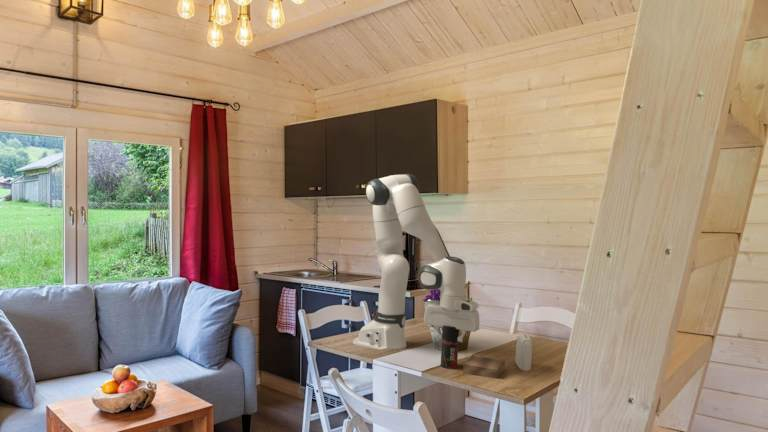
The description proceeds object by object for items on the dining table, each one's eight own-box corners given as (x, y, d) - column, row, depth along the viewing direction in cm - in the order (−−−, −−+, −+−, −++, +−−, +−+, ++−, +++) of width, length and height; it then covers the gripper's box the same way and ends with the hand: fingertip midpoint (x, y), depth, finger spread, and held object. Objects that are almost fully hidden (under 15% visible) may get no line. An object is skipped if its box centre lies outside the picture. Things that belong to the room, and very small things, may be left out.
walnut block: (462, 375, 203) (463, 364, 202) (471, 366, 214) (472, 355, 213) (496, 381, 198) (497, 370, 198) (504, 371, 209) (505, 360, 209)
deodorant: (447, 369, 207) (449, 328, 206) (437, 364, 212) (439, 324, 211) (460, 367, 210) (462, 326, 209) (449, 362, 215) (451, 322, 214)
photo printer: (513, 362, 219) (515, 330, 219) (525, 363, 219) (527, 330, 219) (519, 371, 209) (522, 337, 208) (531, 371, 209) (534, 337, 208)
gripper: (422, 300, 211) (420, 337, 212) (477, 307, 203) (475, 346, 204) (428, 297, 217) (426, 333, 218) (481, 304, 209) (479, 342, 209)
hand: (450, 339), depth 210 cm, fingers closed on deodorant, 6 cm apart
